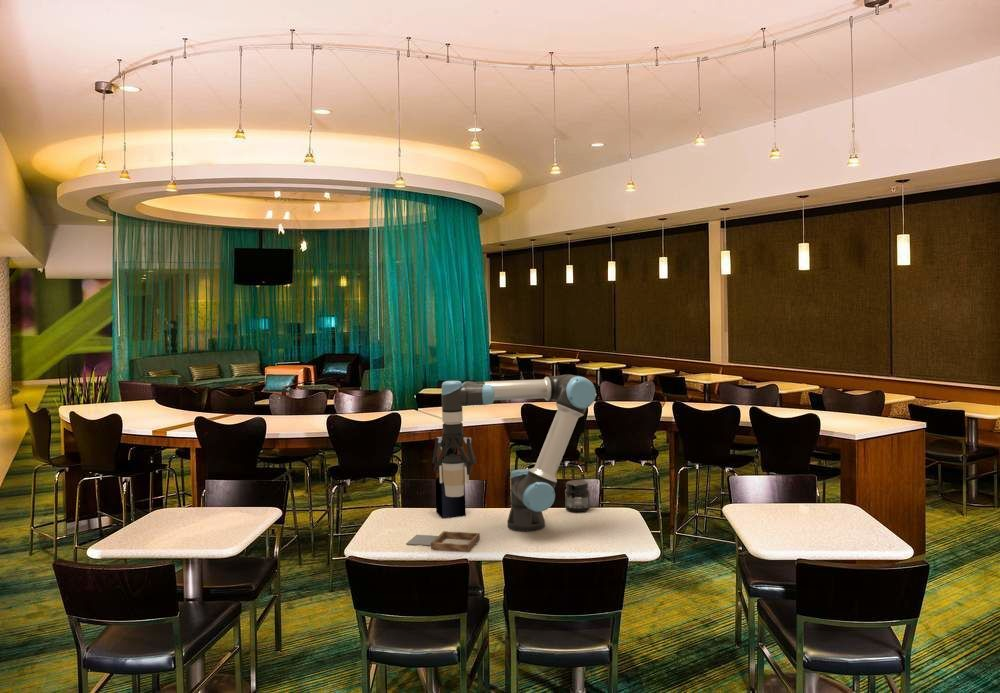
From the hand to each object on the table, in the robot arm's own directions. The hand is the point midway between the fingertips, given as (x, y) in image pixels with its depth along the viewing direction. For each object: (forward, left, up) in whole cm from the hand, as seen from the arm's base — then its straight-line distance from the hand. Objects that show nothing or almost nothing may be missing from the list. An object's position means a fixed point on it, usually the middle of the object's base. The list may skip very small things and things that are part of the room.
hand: (454, 482), depth 270 cm
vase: (+15, -39, -24) cm, 48 cm away
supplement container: (-38, -54, -24) cm, 70 cm away
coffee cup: (0, 0, -5) cm, 5 cm away
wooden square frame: (0, 0, -23) cm, 23 cm away
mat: (+13, -2, -23) cm, 27 cm away
